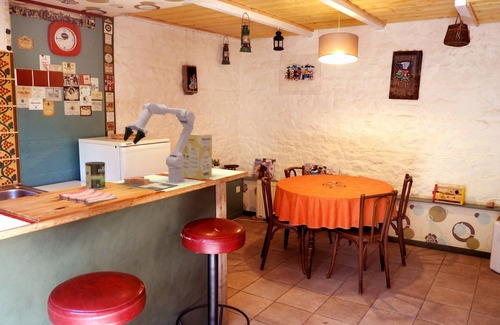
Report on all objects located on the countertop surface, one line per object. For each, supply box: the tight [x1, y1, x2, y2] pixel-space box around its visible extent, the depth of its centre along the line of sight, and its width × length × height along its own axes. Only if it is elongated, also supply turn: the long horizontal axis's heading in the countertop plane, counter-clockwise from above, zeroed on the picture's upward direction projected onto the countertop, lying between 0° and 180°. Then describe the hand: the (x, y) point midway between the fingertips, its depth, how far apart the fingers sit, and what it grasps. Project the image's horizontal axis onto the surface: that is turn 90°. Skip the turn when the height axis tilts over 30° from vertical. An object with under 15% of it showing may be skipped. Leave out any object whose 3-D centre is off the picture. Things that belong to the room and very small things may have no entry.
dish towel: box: [58, 187, 118, 205], centre depth 204 cm, size 17×23×4 cm
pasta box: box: [179, 132, 213, 180], centre depth 270 cm, size 18×10×28 cm, turn 53°
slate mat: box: [117, 180, 179, 192], centre depth 240 cm, size 18×31×1 cm, turn 60°
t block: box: [123, 175, 150, 185], centre depth 242 cm, size 12×12×3 cm
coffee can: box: [84, 161, 106, 191], centre depth 228 cm, size 10×10×14 cm
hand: (129, 141), depth 225 cm, fingers open, 7 cm apart
